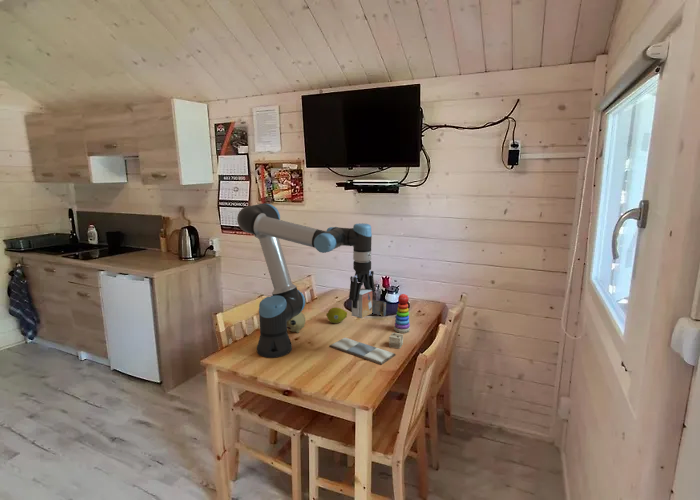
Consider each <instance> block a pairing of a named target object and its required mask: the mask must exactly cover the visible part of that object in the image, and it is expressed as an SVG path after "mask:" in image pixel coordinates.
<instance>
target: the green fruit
mask: <svg viewBox="0 0 700 500" xmlns="http://www.w3.org/2000/svg"><path fill="white" fill-rule="evenodd" d="M347 316H348V312H347V311H346V310H344V309H343V308H340V307H332V308H330V309H329V310H328V311H327V313H326V317H327V319H328V321H329V322H330V323H332V324H339V323H342V322H343V321H345V319H346V318H347Z"/></svg>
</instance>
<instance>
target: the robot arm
mask: <svg viewBox="0 0 700 500" xmlns="http://www.w3.org/2000/svg"><path fill="white" fill-rule="evenodd" d="M236 220H237V221H236V222H237V224H238V227H239V228H240V229H241V230H242V231H243V232H245V233H247V234H250V235H253V236H254V237H255V238H257V239H258V241H259V244H260V247H261V251H262V253H263V257H264V260H265V264H266V267H267V270H268V273H269V276H270V280H271V284H272V286H273V290H272V292H271V295H270V296H267V297H264V298H263V299H262V300H261V301H260V302H259V304H258V315H259V317H258V318H259V333H260V335H259V339H258V342H257V345H256V352H257V353H256V354H257V355H259V356H261V357H264V358H270V359H271V358H279V357H283V356H286V355H288V354H290V353H291V351H293V350H292V347H293V345H292V342H291V338H290V336H289V334H288V330H287V321H289V320H290V319H292V318H293V317H295V316H297V315H298V314H299V313H300V312H303V310H304V308H305V306H306V298H305V296H304V294H303V292H301V290H299V289H298V287H297V285H295V284H294V283H293V282H292V278H291V276H290V272H289V268H288V266H287V265H288V264H287V262H286V258H285V254H284V252H283V248H282V246H281V243H280V240H284V241H288V242H291V243H294V244H298V245H299V244H300V245H303V246H308V247H310V248H314V249H316V251H318V252H319V253H322V254H323V253H330V252H332V251H333V250H335V249H337V248H340V247H342V246H346V247H353V252H352V254H353V255H352V256H353V258H352V259H353V264H352V265H353V270H354V272H355V273H354V275H353V276H351V275H350V277H349V278H350V286H349V293H348V294H349V295H348V299H349V300H350V301H351V302H352V301H353V314H354V315H357V316H358V315H359V300H358V297H359V293H360V289H362V286H364V289H368V290H372V296H373V295H374V294H375V282H374V281H375V280H374V271H373V270H372V261H371V260H372V239H373V237H372V235H373V234H372V226H371V224H369V223H363V222H362V223H354V224H353V227H351V228H350V227H337V226H332V227H331V226H330V227H328V228H327V229H326V230H321V229H319V228H314V227H311V226H306V225H304V224H303V225H302V224H298V223H294V222H290V221H286V220H281V215H280V212H279V210H278V208H277V207H276V206H275V205H272V204H270V203H259V204H253V205H248V206H244V207H243V208H241V209H240V210H239V212H238V214H237V217H236ZM355 297H356V298H355Z"/></svg>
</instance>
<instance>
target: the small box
mask: <svg viewBox="0 0 700 500" xmlns="http://www.w3.org/2000/svg"><path fill="white" fill-rule="evenodd" d="M355 298H356V297H355ZM358 300H359V315H358V316H357V315H354V314H353V301H352V300H351V316H352V317H355V318H359V319H363V318H365V317H367V316H370V315H373V314H372V300H373V295H372V290H368V289H365V288H362V287H361V289H360V293H359V297H358Z"/></svg>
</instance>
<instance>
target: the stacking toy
mask: <svg viewBox="0 0 700 500" xmlns="http://www.w3.org/2000/svg"><path fill="white" fill-rule="evenodd" d="M397 299H398V300H397V301H398V304H397V309H396V310H397V311H396V315H395V318H394V319H395V320H394V327H393V330H394V331H395V332H396V333H398V334H404V333H405V334H406V333H408V332H410V331H411V327H410V326H411V323H410V316H409V315H410V313H409V304H408V302H409V296H408V295H407V294H405V293H401V294H399V296H398V297H397Z"/></svg>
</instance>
